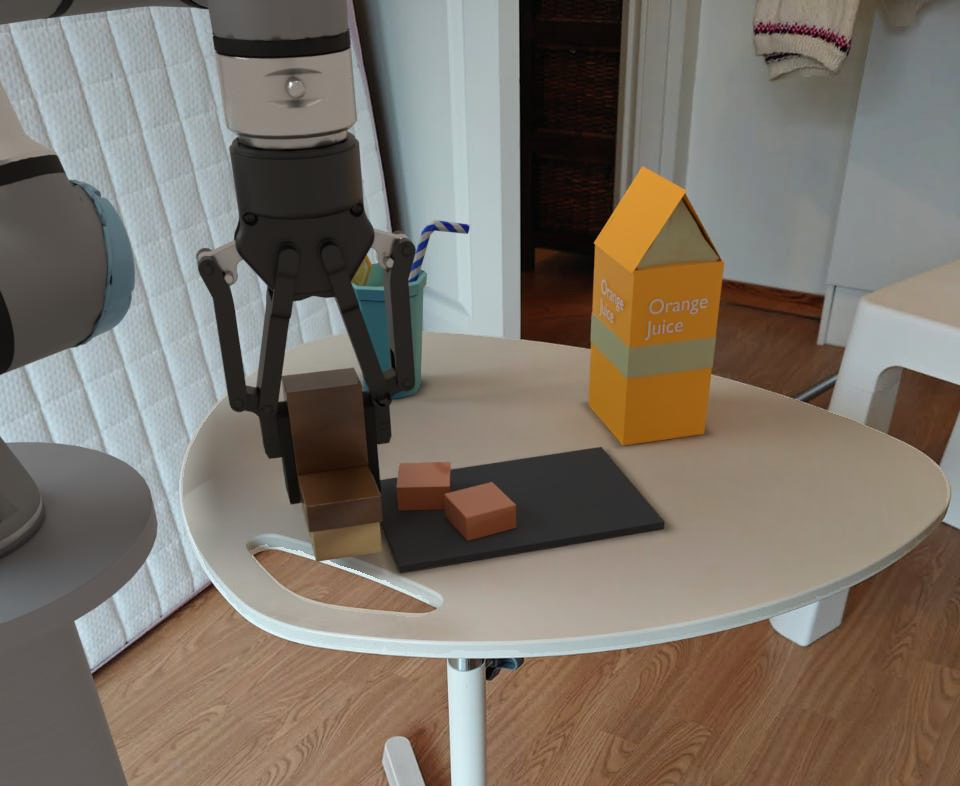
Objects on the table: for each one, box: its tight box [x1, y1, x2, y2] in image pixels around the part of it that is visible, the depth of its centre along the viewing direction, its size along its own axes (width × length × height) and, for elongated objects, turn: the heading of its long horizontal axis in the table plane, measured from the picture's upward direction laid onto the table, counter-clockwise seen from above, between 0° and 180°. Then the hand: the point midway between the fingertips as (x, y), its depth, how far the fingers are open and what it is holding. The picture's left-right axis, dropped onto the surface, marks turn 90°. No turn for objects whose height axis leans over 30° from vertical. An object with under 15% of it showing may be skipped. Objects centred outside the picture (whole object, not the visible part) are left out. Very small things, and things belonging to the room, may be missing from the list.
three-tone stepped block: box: [281, 367, 383, 563], centre depth 71 cm, size 5×12×10 cm, turn 15°
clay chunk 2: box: [444, 482, 516, 541], centre depth 74 cm, size 4×4×2 cm
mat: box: [379, 446, 666, 574], centre depth 78 cm, size 20×13×1 cm, turn 105°
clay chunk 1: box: [396, 461, 452, 511], centre depth 78 cm, size 4×4×2 cm
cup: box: [351, 219, 471, 400], centre depth 93 cm, size 14×8×15 cm, turn 101°
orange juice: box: [588, 165, 725, 446], centre depth 84 cm, size 8×9×20 cm
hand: (333, 488), depth 73 cm, fingers closed on three-tone stepped block, 5 cm apart
